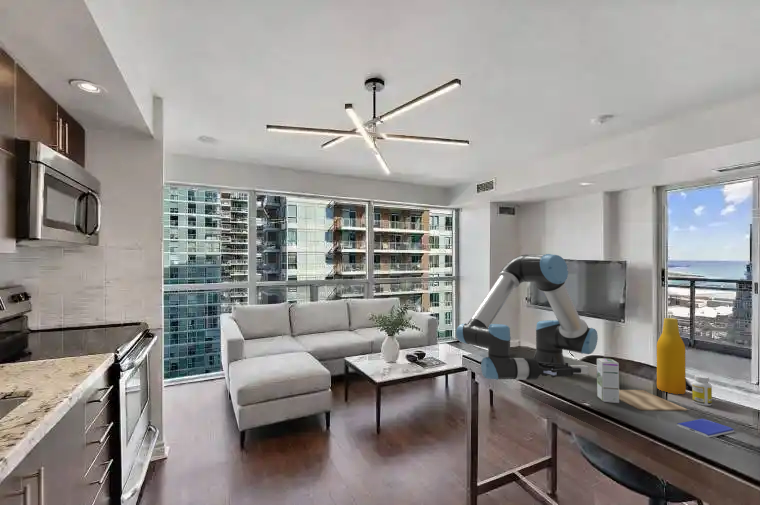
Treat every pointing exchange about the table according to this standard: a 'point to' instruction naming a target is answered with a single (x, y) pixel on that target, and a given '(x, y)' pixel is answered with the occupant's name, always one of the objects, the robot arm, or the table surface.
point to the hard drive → (706, 427)
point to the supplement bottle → (702, 391)
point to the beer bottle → (671, 359)
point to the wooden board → (647, 401)
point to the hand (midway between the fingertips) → (587, 369)
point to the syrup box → (608, 380)
